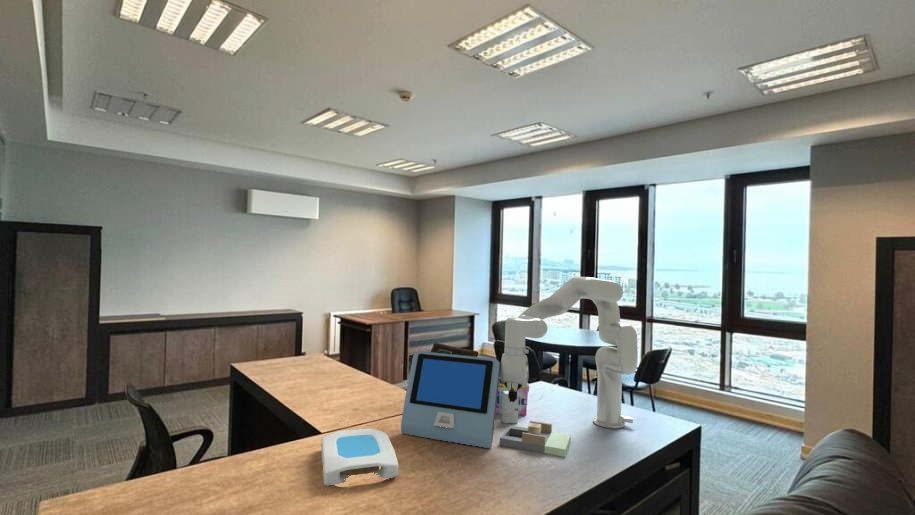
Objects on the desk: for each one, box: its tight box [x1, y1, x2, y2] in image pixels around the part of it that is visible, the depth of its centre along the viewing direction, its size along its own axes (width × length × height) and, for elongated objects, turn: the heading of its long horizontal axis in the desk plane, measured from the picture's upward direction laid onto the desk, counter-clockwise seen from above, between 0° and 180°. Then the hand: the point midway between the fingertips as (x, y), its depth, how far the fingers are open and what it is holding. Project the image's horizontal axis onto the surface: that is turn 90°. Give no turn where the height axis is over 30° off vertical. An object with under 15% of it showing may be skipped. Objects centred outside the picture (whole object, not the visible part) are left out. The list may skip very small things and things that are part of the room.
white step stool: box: [320, 427, 399, 486], centre depth 138 cm, size 21×28×6 cm
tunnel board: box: [499, 420, 572, 458], centre depth 158 cm, size 23×14×6 cm, turn 68°
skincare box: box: [501, 391, 519, 424], centre depth 180 cm, size 6×4×12 cm
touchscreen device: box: [400, 350, 501, 449], centre depth 166 cm, size 35×20×30 cm, turn 70°
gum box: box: [495, 378, 531, 416], centre depth 193 cm, size 24×8×14 cm, turn 84°
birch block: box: [527, 422, 541, 435], centre depth 158 cm, size 4×4×4 cm
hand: (512, 400), depth 162 cm, fingers closed
